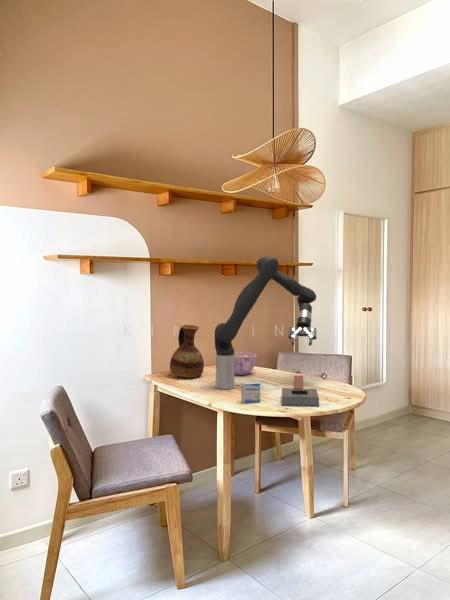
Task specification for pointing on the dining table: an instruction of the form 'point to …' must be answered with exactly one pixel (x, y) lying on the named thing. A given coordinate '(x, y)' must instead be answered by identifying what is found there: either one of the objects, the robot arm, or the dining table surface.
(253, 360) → the bowl of food
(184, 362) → the ceramic pitcher
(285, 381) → the dining table surface
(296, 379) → the square peg
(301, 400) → the square hole block
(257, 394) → the medicine box
